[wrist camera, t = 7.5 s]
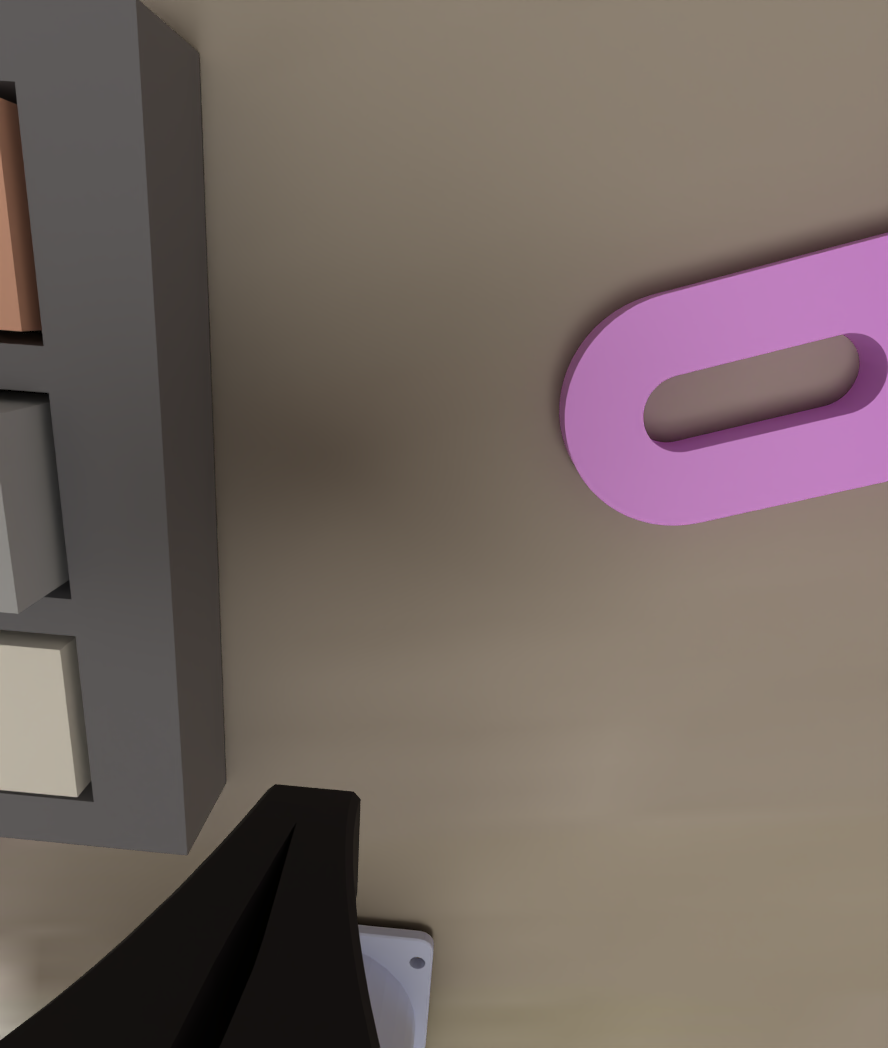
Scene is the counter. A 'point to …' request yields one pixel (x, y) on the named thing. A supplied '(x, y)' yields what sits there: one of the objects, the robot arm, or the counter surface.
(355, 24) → the counter surface
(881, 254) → the bracket
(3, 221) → the terracotta key
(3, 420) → the grey key
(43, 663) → the cream key
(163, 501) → the grey slotted base
